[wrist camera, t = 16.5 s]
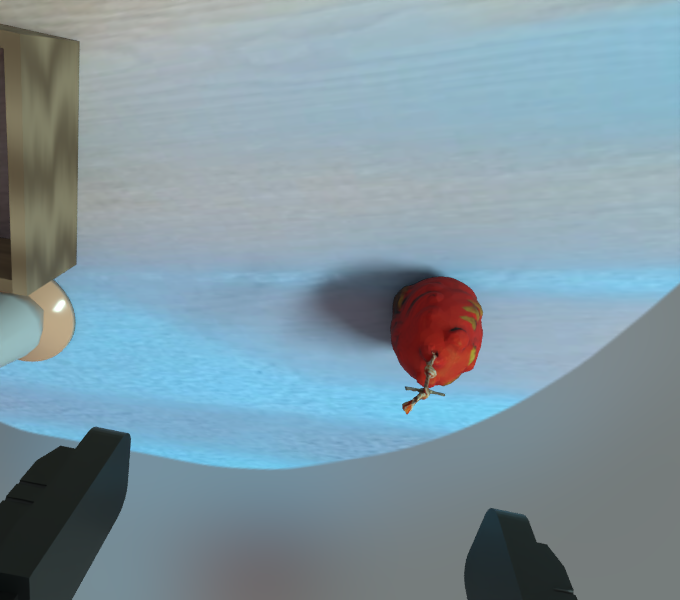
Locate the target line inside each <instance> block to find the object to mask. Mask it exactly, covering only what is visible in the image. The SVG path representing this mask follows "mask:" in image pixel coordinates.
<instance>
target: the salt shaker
mask: <svg viewBox="0 0 680 600" xmlns="http://www.w3.org/2000/svg"><path fill="white" fill-rule="evenodd" d="M43 321H44V310H43V309H42V308H41V307H40V306H39V305H38V304H37V303H36V302H35V301H34V300H33V299H32V298H30V297H29V296H23V295H18V294H13V293H5V292H0V368H1V367H3V366H5V365H7V364H9V363H11V362H13V361H16V360H18V359H20V358H22V357H24V356H26V355H27V354H28V353H30V352H31V351H32V350H33V349H34V348H36V346H37V345H38V344H39V341H40V338H41V334H42V331H43Z"/></svg>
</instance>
